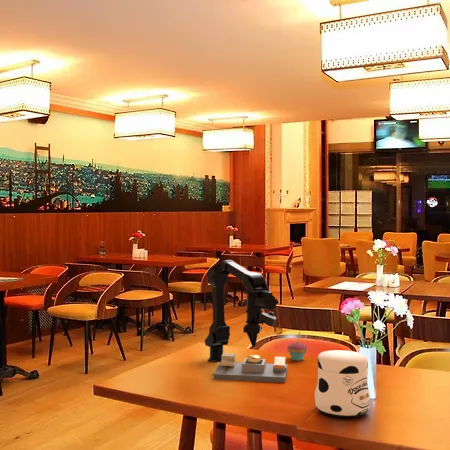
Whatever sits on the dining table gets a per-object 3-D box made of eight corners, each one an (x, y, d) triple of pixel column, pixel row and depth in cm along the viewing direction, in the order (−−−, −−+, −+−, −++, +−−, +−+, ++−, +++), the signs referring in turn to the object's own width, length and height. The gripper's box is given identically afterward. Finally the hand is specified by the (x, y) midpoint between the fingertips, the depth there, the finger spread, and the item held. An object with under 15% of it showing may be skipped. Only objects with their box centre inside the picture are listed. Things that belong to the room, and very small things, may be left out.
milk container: (372, 423, 177) (372, 364, 176) (314, 420, 180) (314, 361, 179) (367, 404, 194) (368, 350, 193) (314, 401, 197) (315, 348, 196)
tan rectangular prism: (223, 363, 235) (223, 353, 235) (235, 363, 234) (235, 353, 234) (221, 365, 231) (221, 355, 231) (234, 366, 230) (234, 356, 230)
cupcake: (293, 355, 257) (293, 328, 256) (310, 358, 252) (311, 330, 251) (283, 359, 250) (283, 331, 249) (301, 363, 245) (301, 334, 244)
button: (248, 362, 231) (248, 354, 231) (261, 362, 230) (261, 355, 230) (246, 365, 226) (246, 357, 226) (259, 366, 225) (259, 358, 225)
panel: (220, 366, 239) (220, 354, 239) (287, 369, 235) (287, 356, 235) (213, 379, 222) (213, 366, 221) (285, 382, 218) (285, 369, 217)
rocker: (275, 359, 230) (275, 356, 230) (285, 360, 230) (285, 356, 230) (274, 368, 224) (274, 364, 223) (284, 368, 223) (284, 365, 223)
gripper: (273, 311, 217) (272, 353, 218) (276, 303, 235) (276, 341, 236) (243, 310, 219) (243, 352, 219) (248, 302, 237) (248, 340, 238)
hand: (253, 346), depth 228 cm, fingers closed
